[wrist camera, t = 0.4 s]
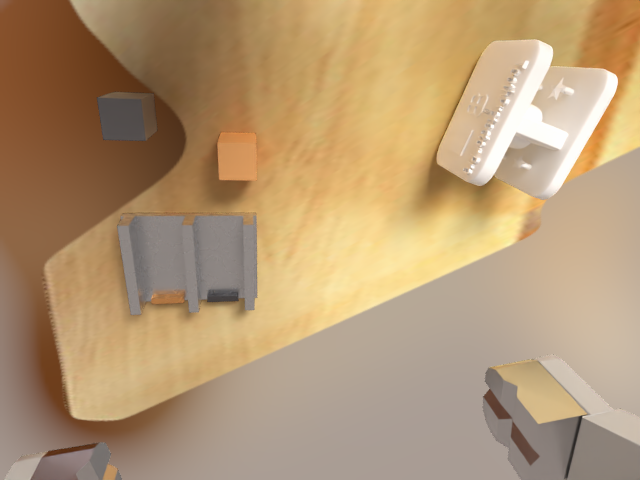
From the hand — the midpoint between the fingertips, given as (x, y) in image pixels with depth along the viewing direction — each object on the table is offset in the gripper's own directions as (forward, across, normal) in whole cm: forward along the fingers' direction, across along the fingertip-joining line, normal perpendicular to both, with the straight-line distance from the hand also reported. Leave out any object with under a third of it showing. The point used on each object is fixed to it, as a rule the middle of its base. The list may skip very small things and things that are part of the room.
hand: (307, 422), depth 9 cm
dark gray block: (+44, +13, -2) cm, 46 cm away
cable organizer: (+44, -28, +3) cm, 53 cm away
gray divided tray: (+44, +11, +16) cm, 48 cm away
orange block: (+44, +3, +3) cm, 44 cm away
